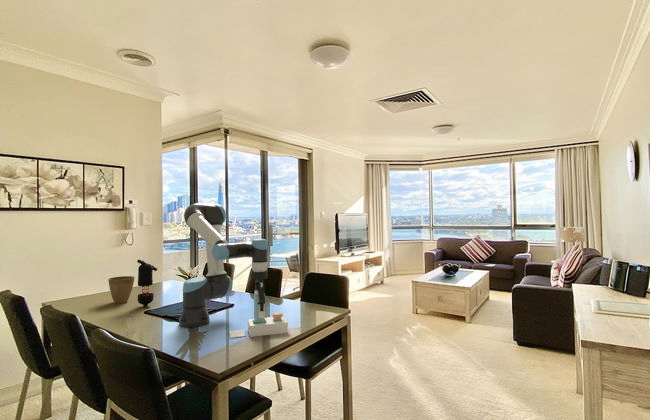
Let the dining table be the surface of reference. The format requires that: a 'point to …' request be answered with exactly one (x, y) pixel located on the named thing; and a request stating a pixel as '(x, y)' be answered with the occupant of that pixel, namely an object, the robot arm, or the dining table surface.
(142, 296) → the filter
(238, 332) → the mat
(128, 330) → the dining table surface
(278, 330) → the base
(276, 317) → the plunger
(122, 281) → the plant pot
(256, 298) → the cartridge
